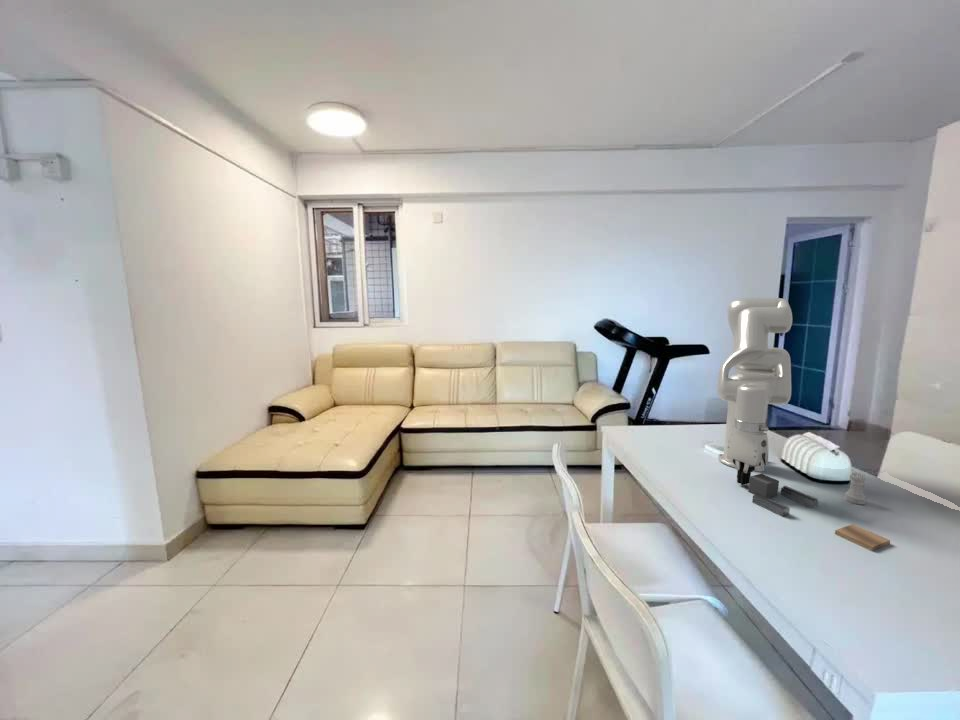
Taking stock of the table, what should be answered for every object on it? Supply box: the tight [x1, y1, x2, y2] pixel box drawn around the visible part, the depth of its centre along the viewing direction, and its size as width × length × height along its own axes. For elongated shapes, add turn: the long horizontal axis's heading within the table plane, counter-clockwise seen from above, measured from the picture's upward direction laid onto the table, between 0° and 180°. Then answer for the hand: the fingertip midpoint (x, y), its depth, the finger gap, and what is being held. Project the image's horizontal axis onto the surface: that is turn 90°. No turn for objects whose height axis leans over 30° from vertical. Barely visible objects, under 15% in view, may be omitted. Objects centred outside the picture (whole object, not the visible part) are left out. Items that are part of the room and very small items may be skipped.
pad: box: [834, 523, 891, 552], centre depth 92 cm, size 7×7×1 cm
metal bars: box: [752, 485, 819, 517], centre depth 108 cm, size 14×8×2 cm, turn 110°
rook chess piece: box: [844, 472, 867, 506], centre depth 109 cm, size 4×4×8 cm
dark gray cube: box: [747, 473, 780, 499], centre depth 113 cm, size 5×5×5 cm
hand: (743, 483), depth 119 cm, fingers closed
